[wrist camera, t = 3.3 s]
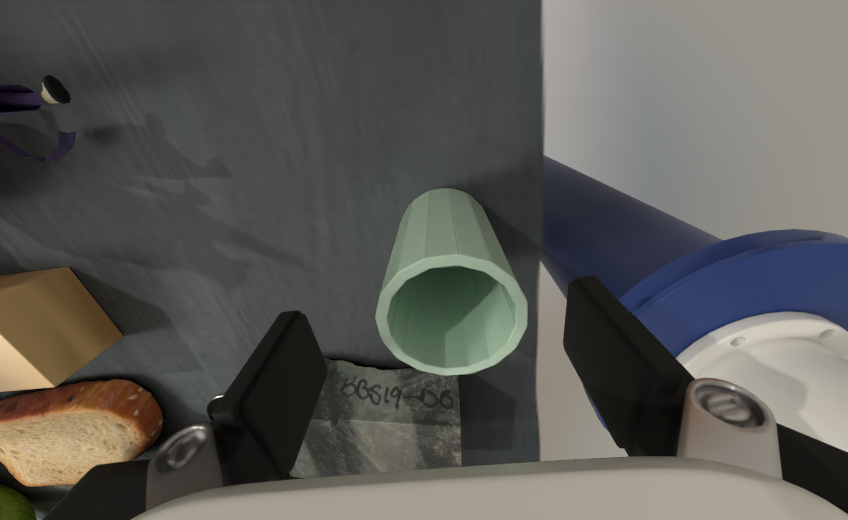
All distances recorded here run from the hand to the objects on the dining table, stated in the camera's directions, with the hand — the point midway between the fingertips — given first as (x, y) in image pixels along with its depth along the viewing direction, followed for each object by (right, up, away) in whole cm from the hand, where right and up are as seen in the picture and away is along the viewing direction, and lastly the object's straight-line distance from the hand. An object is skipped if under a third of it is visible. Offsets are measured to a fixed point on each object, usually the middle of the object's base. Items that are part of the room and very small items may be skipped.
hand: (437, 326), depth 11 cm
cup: (+1, +4, +9) cm, 10 cm away
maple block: (-30, -2, +13) cm, 33 cm away
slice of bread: (-36, -13, +19) cm, 43 cm away
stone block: (-5, -9, +16) cm, 19 cm away
